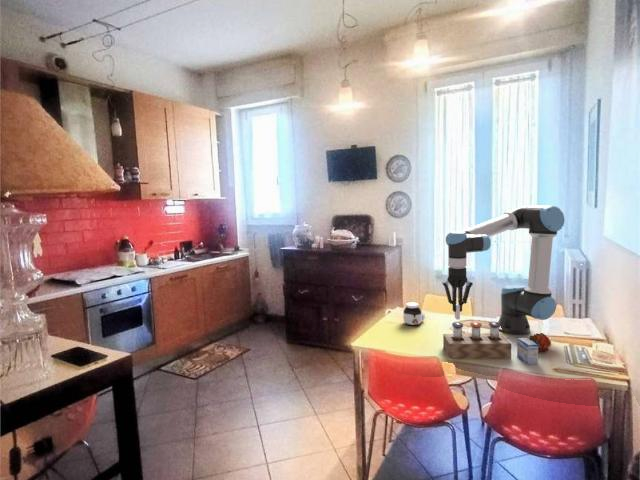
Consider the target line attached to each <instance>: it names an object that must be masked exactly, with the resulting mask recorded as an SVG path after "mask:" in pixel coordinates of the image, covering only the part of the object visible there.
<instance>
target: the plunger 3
mask: <svg viewBox="0 0 640 480" xmlns="http://www.w3.org/2000/svg"><path fill="white" fill-rule="evenodd" d="M488 326H489V333H490V340H491V341H495V340H499V333H500V330H499V327H500V323H499V322H498V321H489V322H488Z"/></svg>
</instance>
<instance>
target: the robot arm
mask: <svg viewBox="0 0 640 480" xmlns="http://www.w3.org/2000/svg"><path fill="white" fill-rule="evenodd" d="M564 225H565V215H564V213H563V211H562V210H561V208H559V207H558V206H555V205H548V204H545V205H542V204H541V205H537V204H534V205H533V204H529V205H528V204H527V205H523V206H519V207H516V208H514V209H511V210H509V211H506V212H504V213H503V214H502V215H500V216H498V217H496V218H492V219H490V220H488V221H485V222H481V223H480V224H477V225H474V226H472V227H468V228H465V229H464V230H460V231H451V232H449V233H448V234H447V235H446V236H445V243H446V245H447V248H448V251H447V253H448V264H447V265H448V268H447V269H448V272H447V275H448V277H447V279H446V280H445V281H442V282H441V284H442V285H443V287H444V290H445V293H446V294H445V295H446V298H447V301H448V303H449V304H450V305H452V311H453V312H454V318H455V319H456V320H461V312H463V306H464V304H467V303H468V298H469V295H470V290H471V287H473V282H472V281H470V280H468V277H467V253H478V252H485V251H488V250H490V248H491V247H492V246H491V245H492V243H491V241H492V240H491V237H493V236H495V235H498V234H501V233H504V232H506V231H514V230H517V229H528V234H529V235H530V237H531V246H530V255H529V256H530V258H529V269H528V282H527V286H526V285H522V284H521V285H519V284H518V285H517V284H516V285H505V286H503V287H502V288H501V294H500V297H501V298H500V299H501V301H500V304H501V307H500V308H501V310H500V311H501V314H500V316H499V319H498V321H497V322H499V323H500V326H501V328H502V330H503V331H502V332H503V333H506V334H511V335H526V333H527V332H529V331H530V332H531V325H530V323H529V322H530V321H529V320H528V317H531V318H533V319H534V320H535V319H536V320H540V321H546V320H549V319H550V318H551V317H552V316H553V315H554V314H555V313H556V310H557V306H558V305H557V301H556V299H555V298H553V297H552V293H553V292H552V291H551V290H550V288H549V286H550V283H549V282H550V275H551V265H552V263H551V262H552V261H551V260H552V253H553V252H552V251H553V241H554V238H555V237H556V236H558V231H560V230H562V228H563V227H564ZM465 285H466V286H465ZM449 286H451V289H452V294H451V292H450V288H449ZM464 286H465V288H464ZM463 289H465V290H464V292H463ZM457 296H458V297H457ZM457 300H458V301H457ZM457 302H458V303H457ZM527 316H528V317H527ZM530 332H529V333H530ZM527 334H528V333H527Z"/></svg>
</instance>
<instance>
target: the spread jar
mask: <svg viewBox="0 0 640 480" xmlns="http://www.w3.org/2000/svg"><path fill="white" fill-rule="evenodd" d="M419 306H420V305H419V303H418V302H413V301H412V302H411V301H410V302H407V303H405V308H404V310H403V312H402V313H403V317H402V318H403V322H404V324H405V325H407V326H408V327H418V326H420V325H421V324H422V322H423V321H424V320H425V318H426V314H425V313H424V312H423V311H422V310H421V308H420V307H419Z"/></svg>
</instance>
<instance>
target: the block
mask: <svg viewBox="0 0 640 480" xmlns="http://www.w3.org/2000/svg"><path fill="white" fill-rule="evenodd" d="M442 339H443V341H442V342H443V343H442V344H443V345H442V346H443V350H444V352H445V354H446V355H447V357H448V359H449V360H511V359H512V342H511V341H510V340H508V339H507V337H505V336H504V334H502V333H501V332H499V340H495V341H491V340H490V332H489V333H487V332H486V333H480V341H472V333H462V341H454V339H453V333H443V335H442Z"/></svg>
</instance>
